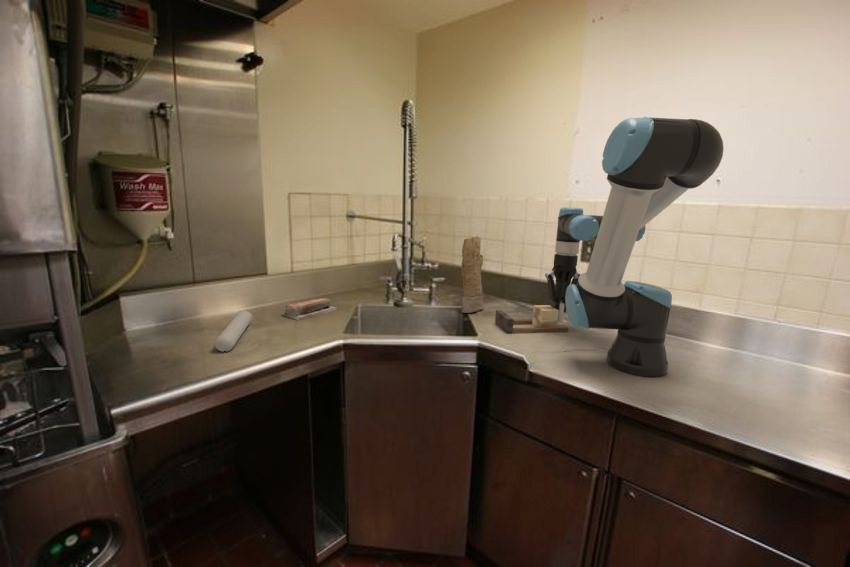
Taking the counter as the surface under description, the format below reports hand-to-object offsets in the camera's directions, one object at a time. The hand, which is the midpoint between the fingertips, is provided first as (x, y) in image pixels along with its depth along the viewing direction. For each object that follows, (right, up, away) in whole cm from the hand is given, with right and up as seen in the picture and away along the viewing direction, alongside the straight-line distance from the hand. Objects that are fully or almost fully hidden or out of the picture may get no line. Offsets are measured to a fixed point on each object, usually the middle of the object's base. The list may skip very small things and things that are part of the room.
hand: (558, 320), depth 139 cm
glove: (-28, +2, +22) cm, 36 cm away
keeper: (-5, -2, -1) cm, 6 cm away
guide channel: (-10, -3, -1) cm, 11 cm away
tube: (-104, -4, -19) cm, 106 cm away
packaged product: (-90, +1, +10) cm, 91 cm away
